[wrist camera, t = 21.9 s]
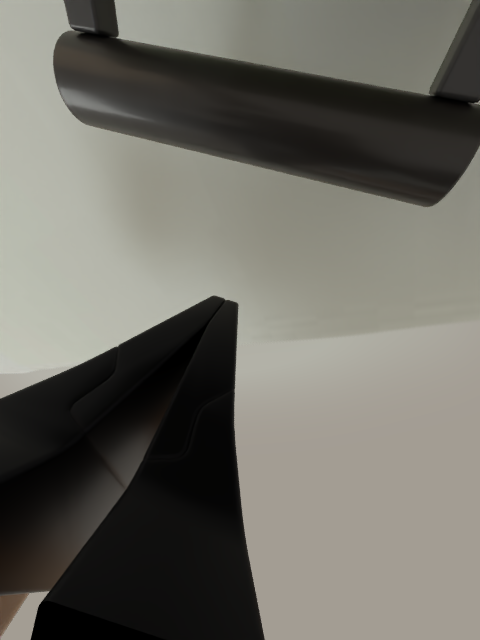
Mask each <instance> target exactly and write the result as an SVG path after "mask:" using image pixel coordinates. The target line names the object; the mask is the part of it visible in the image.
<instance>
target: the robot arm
mask: <svg viewBox="0 0 480 640" xmlns="http://www.w3.org/2000/svg"><path fill="white" fill-rule="evenodd" d="M237 325H238V303H236V302H233V301H230V300H225V299H224V298H221V297H218V296H211V297H209V298H207V299H206V300H204V301H202V302H200V303H198V304H196V305H194V306H192V307H190V308H188V309H187V310H185V311H183V312H181V313H179V314H177V315H175V316H173V317H171V318H169V319H167V320H166V321H164V322H162V323H160V324H158V325H156V326H154V327H152V328H150V329H148V330H146V331H145V332H143V333H141V334H139V335H137V336H135V337H133V338H131V339H129V340H127V341H126V342H124V343H122V344H120V345H119V346H118V347H114V348H112V349H110V350H108V351H106V352H104V353H102V354H100V355H98V356H96V357H94V358H92V359H90V360H88V361H86V362H84V363H82V364H80V365H78V366H75V367H73V368H71V369H69V370H67V371H64V372H62V373H60V374H57V375H55V376H53V377H51V378H48V379H46V380H43V381H41V382H39V383H36V384H34V385H31V386H29V387H27V388H25V389H22V390H20V391H17V392H15V393H13V394H10V395H8V396H6V397H3V398H1V399H0V638H1V636H2V635H3V634H4V632H5V630H6V629H7V627H8V626H9V624H10V623H11V621H12V620H13V618H14V616H15V615H16V613H17V612H18V610H19V609H20V607H21V606H22V604H23V603H24V601H25V599H26V598H27V596H28V595H29V593H34V592H44V591H50V592H49V593H48V594H47V596H46V597H45V598H44V600H43V601H42V602H41V604H40V605H39V607H38V611H37V615H36V619H35V623H34V628H33V632H32V636H31V640H265V639H264V634H263V629H262V623H261V618H260V613H259V609H258V603H257V598H256V592H255V587H254V582H253V577H252V572H251V567H250V561H249V557H248V550H247V545H246V538H245V532H244V525H243V517H242V508H241V497H240V488H239V477H238V468H237V456H236V447H235V431H234V397H235V392H234V389H235V371H236V370H235V369H236V348H237Z"/></svg>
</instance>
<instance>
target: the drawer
mask: <svg viewBox="0 0 480 640" xmlns="http://www.w3.org/2000/svg"><path fill="white" fill-rule="evenodd" d="M64 3H65V7H66V12H67V16H68V21H69V24H70V27H71V28H72V29H74V30H75V31H67V32H65V33H63V34H62V35H61V36H60V37H59V39H58V40H57V43H56V45H55V49H54V55H53V66H54V74H55V79H56V83H57V86H58V89H59V92H60V94H61V96H62V99H63V101H64V102H65V104H66V106H67V107H68V109H69V110H70V111H71V113H72V114H73V115H74V116H75V117H76V118H77V119H78V120H80V121H81V122H82V123H84V124H86V125H89V126H93V127H97V128H101V129H105V130H110V131H114V132H118V133H122V134H126V135H130V136H134V137H138V138H143V139H147V140H151V141H155V142H159V143H163V144H167V145H171V146H176V147H180V148H184V149H188V150H192V151H196V152H200V153H204V154H209V155H213V156H217V157H221V158H225V159H229V160H233V161H237V162H241V163H246V164H250V165H254V166H258V167H262V168H266V169H270V170H274V171H279V172H283V173H287V174H291V175H295V176H299V177H303V178H307V179H312V180H316V181H320V182H324V183H328V184H332V185H336V186H340V187H345V188H349V189H353V190H357V191H361V192H365V193H369V194H373V195H378V196H382V197H386V198H390V199H394V200H398V201H402V202H406V203H410V204H415V205H419V206H423V207H430V206H433V205H435V204H437V203H438V202H439V201H440V200H442V199H443V198H444V197H445V196H446V195H447V194H448V192H449V191H450V190H451V189H452V188H453V187H454V185H455V184H456V183H457V182H458V180H459V179H460V178H461V176H462V175H463V173H464V172H465V170H466V169H467V167H468V166H469V164H470V162H471V161H472V159H473V157H474V155H475V154H476V152H477V150H478V148H479V146H480V105H479V104H473V103H476V102H478V101H479V100H480V0H472V2H471V4H470V7H469V9H468V11H467V13H466V15H465V17H464V19H463V21H462V23H461V25H460V27H459V29H458V31H457V33H456V35H455V38H454V40H453V42H452V44H451V46H450V48H449V50H448V52H447V54H446V56H445V58H444V60H443V62H442V64H441V66H440V69H439V71H438V73H437V75H436V77H435V79H434V81H433V83H432V85H431V87H430V91H429V94H430V95H431V96H429V95H424V94H419V93H413V92H408V91H402V90H397V89H391V88H386V87H380V86H375V85H369V84H364V83H358V82H353V81H347V80H342V79H336V78H331V77H325V76H320V75H314V74H309V73H304V72H298V71H293V70H287V69H282V68H276V67H271V66H265V65H260V64H254V63H249V62H243V61H238V60H232V59H227V58H221V57H216V56H210V55H205V54H200V53H194V52H189V51H183V50H178V49H172V48H167V47H161V46H156V45H150V44H145V43H139V42H134V41H128V40H123V39H117V38H116V37H118V35H119V31H118V24H117V16H116V9H115V2H114V0H64Z"/></svg>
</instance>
